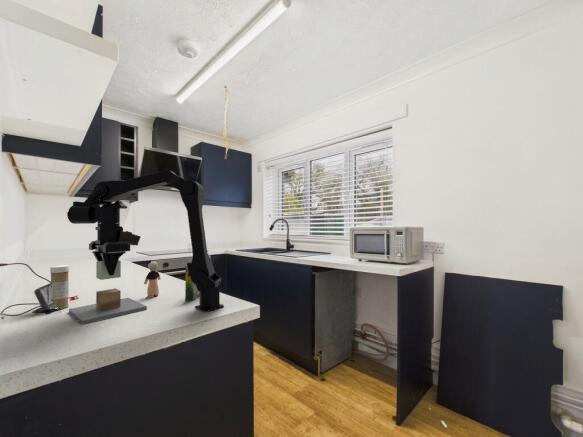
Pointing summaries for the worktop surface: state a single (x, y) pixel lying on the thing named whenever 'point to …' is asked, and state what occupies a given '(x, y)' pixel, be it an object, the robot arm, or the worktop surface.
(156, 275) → the grandmother figurine
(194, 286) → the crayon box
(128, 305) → the baseplate
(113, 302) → the brown wooden cube
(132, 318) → the worktop surface
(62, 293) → the sprinkles bottle
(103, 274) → the sage brick
